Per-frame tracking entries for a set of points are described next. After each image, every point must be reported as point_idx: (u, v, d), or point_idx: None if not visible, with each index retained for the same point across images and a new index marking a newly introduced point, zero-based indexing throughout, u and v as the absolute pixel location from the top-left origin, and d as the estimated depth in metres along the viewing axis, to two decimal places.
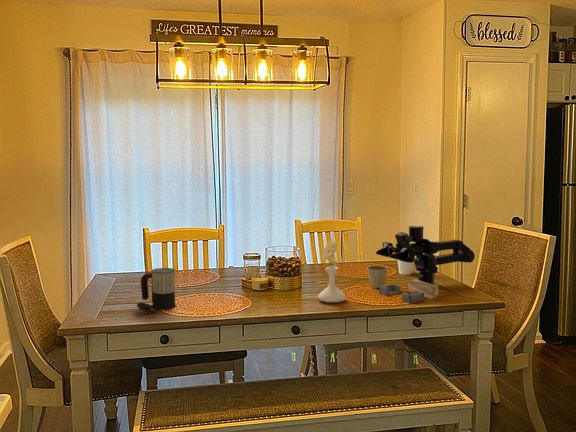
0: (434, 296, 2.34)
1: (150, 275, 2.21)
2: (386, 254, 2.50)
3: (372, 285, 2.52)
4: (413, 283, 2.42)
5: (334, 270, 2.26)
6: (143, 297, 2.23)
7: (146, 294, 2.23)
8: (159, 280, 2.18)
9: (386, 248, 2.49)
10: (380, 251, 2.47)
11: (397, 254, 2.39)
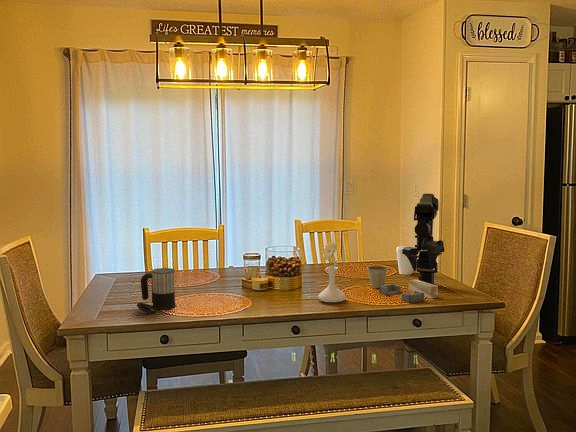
0: (434, 296, 2.34)
1: (150, 275, 2.21)
2: None
3: (372, 285, 2.52)
4: (413, 283, 2.42)
5: (334, 270, 2.26)
6: (143, 297, 2.23)
7: (146, 294, 2.23)
8: (159, 280, 2.17)
9: None
10: None
11: None
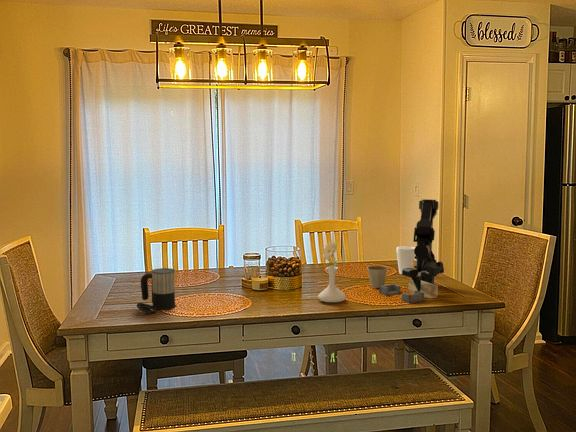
0: (433, 296, 2.33)
1: (150, 275, 2.21)
2: None
3: (372, 285, 2.52)
4: (413, 282, 2.42)
5: (334, 270, 2.26)
6: (143, 297, 2.22)
7: (146, 294, 2.23)
8: (159, 280, 2.17)
9: None
10: None
11: None
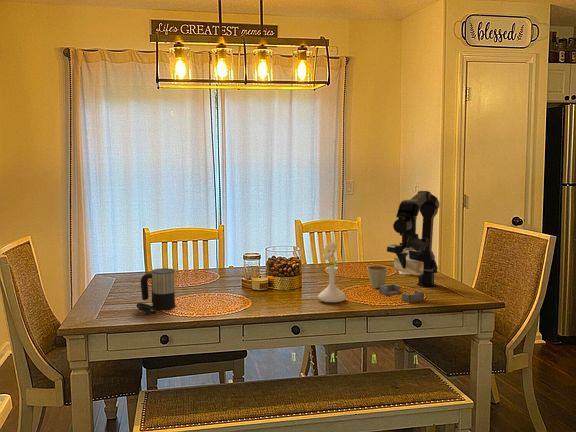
0: (419, 272, 2.29)
1: (150, 275, 2.20)
2: None
3: (372, 285, 2.52)
4: (398, 260, 2.37)
5: (334, 270, 2.26)
6: (143, 297, 2.22)
7: (146, 294, 2.23)
8: (159, 281, 2.17)
9: None
10: None
11: None
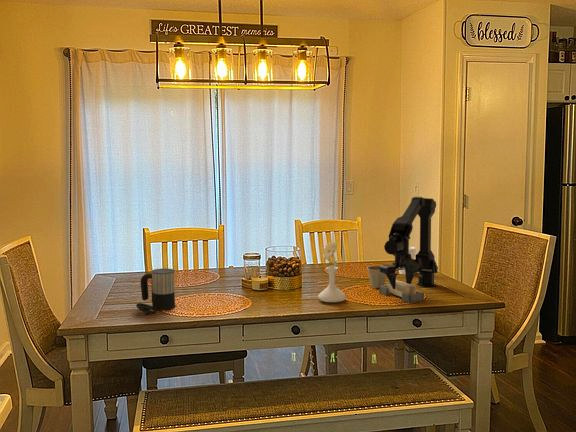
0: None
1: (150, 275, 2.20)
2: None
3: (372, 285, 2.52)
4: None
5: (334, 270, 2.26)
6: (143, 297, 2.22)
7: (146, 294, 2.22)
8: (159, 281, 2.17)
9: None
10: None
11: None
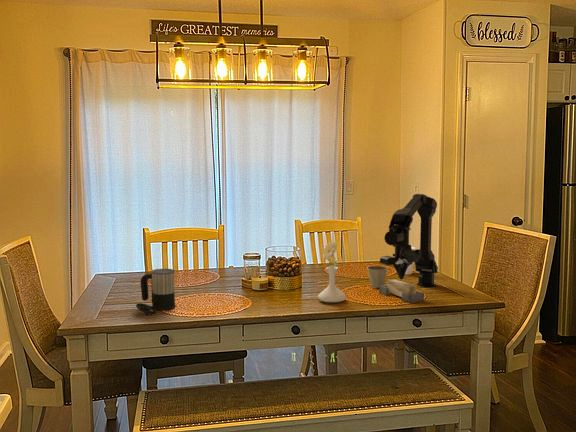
0: None
1: (150, 276, 2.20)
2: None
3: (372, 285, 2.52)
4: (392, 283, 2.37)
5: (334, 270, 2.26)
6: (143, 298, 2.22)
7: (146, 295, 2.22)
8: (159, 281, 2.16)
9: None
10: None
11: None
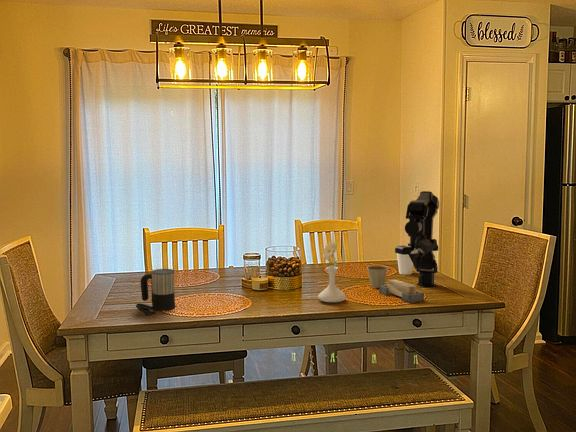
0: None
1: (150, 276, 2.20)
2: None
3: (372, 285, 2.52)
4: (392, 283, 2.37)
5: (334, 270, 2.26)
6: (143, 298, 2.22)
7: (146, 295, 2.22)
8: (159, 281, 2.16)
9: None
10: None
11: None
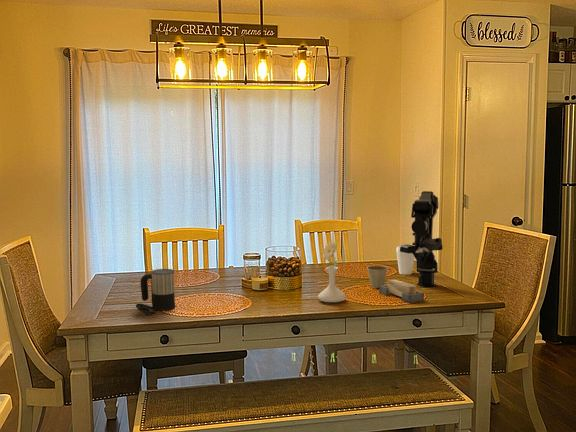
0: None
1: (150, 276, 2.20)
2: None
3: (372, 285, 2.52)
4: (392, 283, 2.37)
5: (334, 270, 2.26)
6: (143, 298, 2.22)
7: (146, 295, 2.22)
8: (159, 281, 2.16)
9: None
10: None
11: None
